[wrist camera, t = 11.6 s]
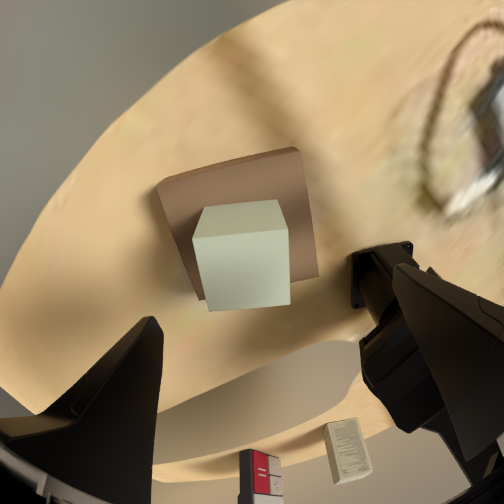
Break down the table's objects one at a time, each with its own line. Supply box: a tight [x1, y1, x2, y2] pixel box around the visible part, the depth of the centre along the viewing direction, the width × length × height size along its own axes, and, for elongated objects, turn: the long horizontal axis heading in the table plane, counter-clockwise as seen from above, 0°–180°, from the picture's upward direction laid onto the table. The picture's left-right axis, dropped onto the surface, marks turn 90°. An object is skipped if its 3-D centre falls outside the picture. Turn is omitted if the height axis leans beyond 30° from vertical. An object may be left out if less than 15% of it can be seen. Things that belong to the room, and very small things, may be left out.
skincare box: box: [323, 418, 373, 485], centre depth 36 cm, size 6×4×12 cm
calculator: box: [238, 449, 284, 504], centre depth 41 cm, size 11×4×15 cm, turn 38°
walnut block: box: [156, 147, 319, 301], centre depth 21 cm, size 10×10×3 cm
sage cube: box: [192, 199, 290, 312], centre depth 17 cm, size 5×5×5 cm
